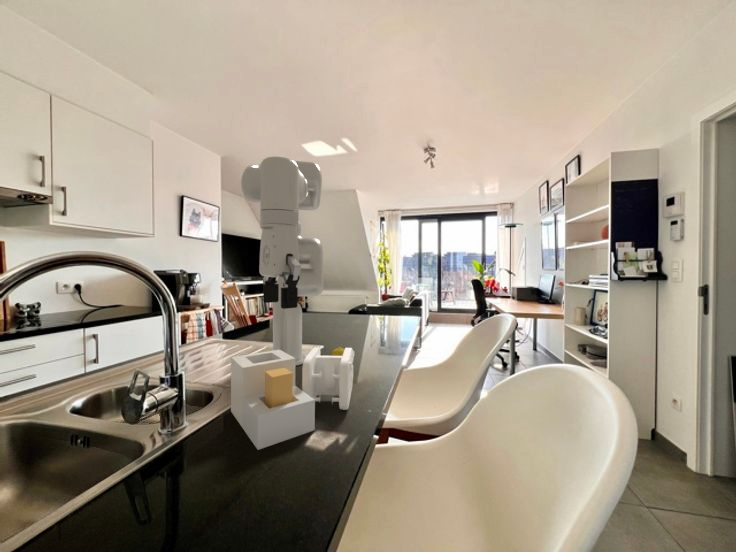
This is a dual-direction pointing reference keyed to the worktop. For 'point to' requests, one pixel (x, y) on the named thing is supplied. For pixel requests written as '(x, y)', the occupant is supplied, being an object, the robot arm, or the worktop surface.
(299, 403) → the stepped foam insert
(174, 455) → the worktop surface
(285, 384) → the plug
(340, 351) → the lemon
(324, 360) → the cable organizer
